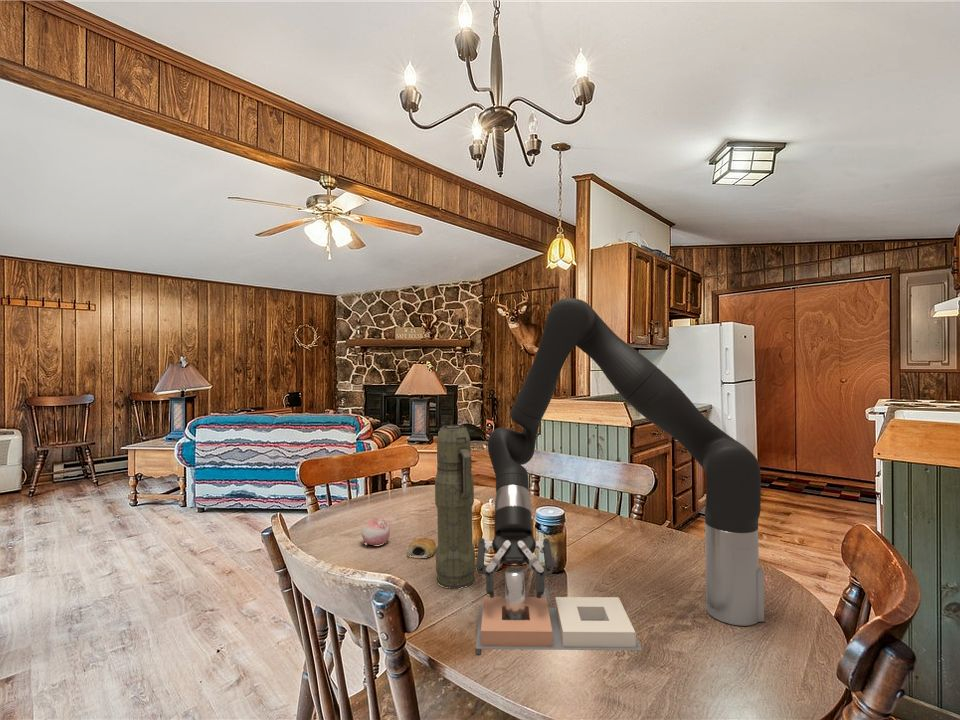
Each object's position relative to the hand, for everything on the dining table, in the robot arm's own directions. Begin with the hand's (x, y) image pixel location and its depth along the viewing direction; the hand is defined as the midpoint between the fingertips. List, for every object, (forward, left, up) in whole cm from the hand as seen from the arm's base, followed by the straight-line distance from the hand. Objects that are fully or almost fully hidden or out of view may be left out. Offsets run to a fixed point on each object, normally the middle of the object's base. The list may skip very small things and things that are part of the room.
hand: (515, 596), depth 89 cm
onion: (+37, -44, -7) cm, 58 cm away
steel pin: (0, -1, -6) cm, 6 cm away
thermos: (+13, -22, -7) cm, 27 cm away
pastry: (+23, -38, -8) cm, 45 cm away
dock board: (-7, -1, -7) cm, 10 cm away
